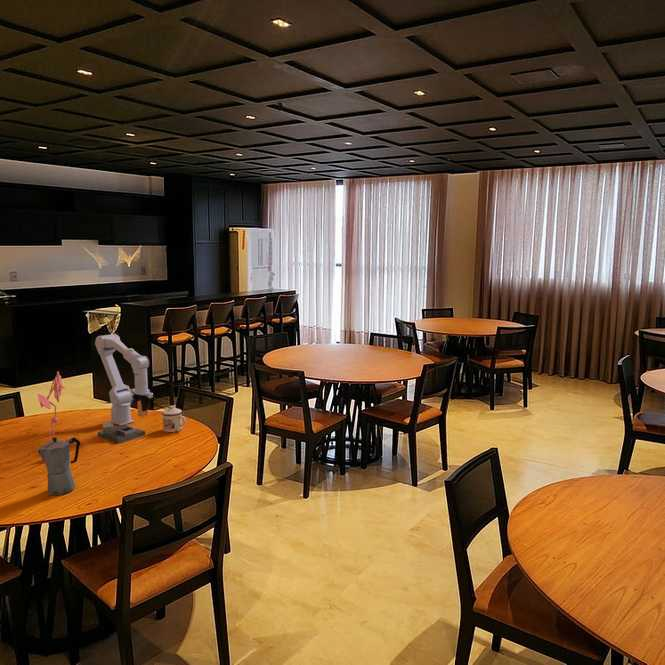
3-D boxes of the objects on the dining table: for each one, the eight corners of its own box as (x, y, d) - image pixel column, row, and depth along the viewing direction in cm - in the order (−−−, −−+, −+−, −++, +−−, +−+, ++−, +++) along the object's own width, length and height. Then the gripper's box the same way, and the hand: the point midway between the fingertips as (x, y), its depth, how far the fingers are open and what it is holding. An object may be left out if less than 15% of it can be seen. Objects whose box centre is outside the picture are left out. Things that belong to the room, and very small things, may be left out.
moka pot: (33, 494, 206) (29, 439, 203) (74, 479, 219) (70, 428, 216) (49, 501, 201) (44, 445, 198) (89, 485, 213) (86, 433, 210)
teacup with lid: (158, 431, 274) (157, 407, 272) (170, 425, 282) (169, 402, 280) (180, 434, 269) (179, 410, 267) (191, 428, 278) (190, 405, 276)
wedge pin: (137, 415, 278) (137, 401, 277) (143, 414, 280) (143, 399, 279) (141, 416, 276) (141, 402, 275) (147, 415, 278) (147, 401, 277)
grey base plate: (97, 436, 267) (97, 423, 266) (124, 428, 278) (124, 416, 277) (118, 443, 257) (117, 430, 256) (145, 435, 268) (144, 422, 267)
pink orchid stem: (37, 466, 231) (32, 380, 225) (49, 445, 255) (45, 366, 250) (79, 463, 235) (75, 378, 230) (87, 442, 259) (84, 365, 254)
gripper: (157, 383, 274) (159, 410, 277) (139, 378, 283) (140, 405, 285) (144, 385, 269) (146, 414, 271) (126, 381, 277) (127, 408, 280)
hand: (142, 410), depth 278 cm, fingers closed on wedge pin, 3 cm apart
